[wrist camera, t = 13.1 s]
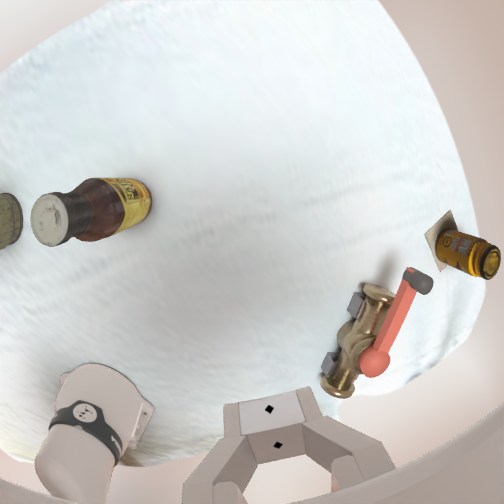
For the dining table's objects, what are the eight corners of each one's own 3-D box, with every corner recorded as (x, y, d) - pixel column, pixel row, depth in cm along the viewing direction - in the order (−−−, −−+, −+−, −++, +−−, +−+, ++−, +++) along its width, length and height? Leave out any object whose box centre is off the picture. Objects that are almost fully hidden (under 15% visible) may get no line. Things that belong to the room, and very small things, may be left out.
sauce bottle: (160, 188, 37) (99, 196, 17) (144, 231, 38) (77, 277, 19) (118, 171, 35) (33, 168, 16) (103, 213, 37) (16, 244, 17)
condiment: (439, 271, 44) (484, 294, 32) (424, 234, 42) (473, 251, 30) (463, 247, 44) (508, 264, 32) (449, 209, 42) (498, 220, 30)
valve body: (345, 378, 47) (360, 402, 40) (315, 375, 46) (327, 401, 39) (388, 289, 43) (411, 305, 37) (357, 280, 42) (379, 297, 36)
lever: (352, 368, 38) (363, 385, 34) (400, 263, 35) (418, 272, 30) (375, 371, 38) (387, 386, 34) (422, 271, 35) (440, 280, 31)
